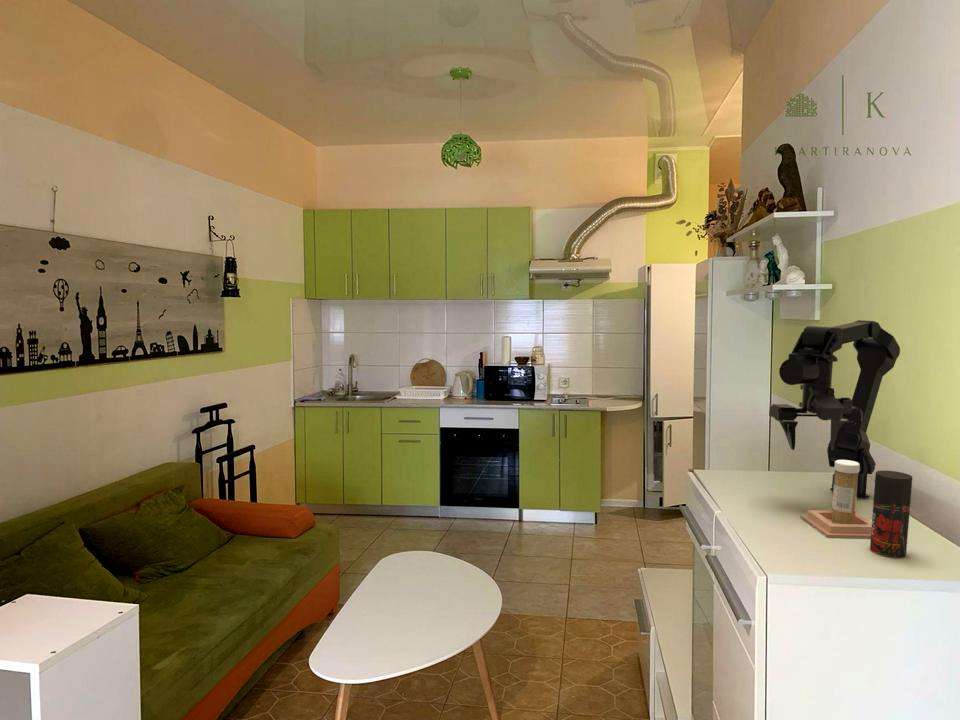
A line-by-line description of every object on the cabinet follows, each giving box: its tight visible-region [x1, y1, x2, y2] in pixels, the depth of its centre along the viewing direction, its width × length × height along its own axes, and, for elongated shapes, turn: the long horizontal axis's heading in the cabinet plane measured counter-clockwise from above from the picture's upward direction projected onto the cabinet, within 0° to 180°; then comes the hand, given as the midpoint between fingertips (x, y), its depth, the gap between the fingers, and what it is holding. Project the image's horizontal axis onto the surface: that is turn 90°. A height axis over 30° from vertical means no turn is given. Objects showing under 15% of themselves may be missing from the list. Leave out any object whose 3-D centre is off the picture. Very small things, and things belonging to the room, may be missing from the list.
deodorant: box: [869, 470, 913, 559], centre depth 130 cm, size 6×6×15 cm
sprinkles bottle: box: [831, 460, 860, 524], centre depth 143 cm, size 5×5×13 cm
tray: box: [799, 509, 872, 539], centre depth 143 cm, size 12×12×2 cm
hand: (812, 449), depth 157 cm, fingers open, 9 cm apart
